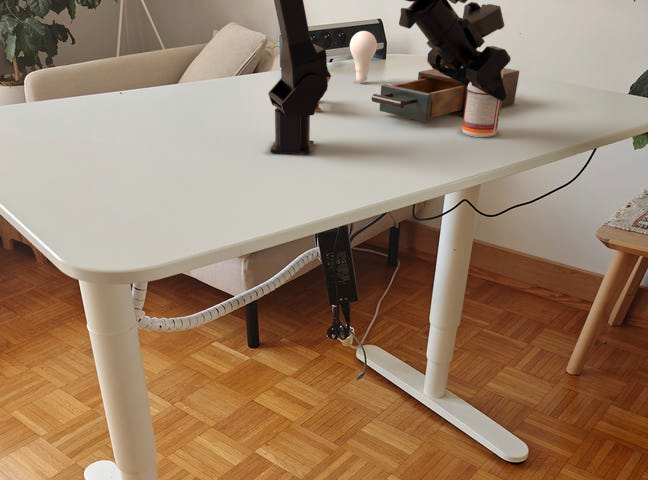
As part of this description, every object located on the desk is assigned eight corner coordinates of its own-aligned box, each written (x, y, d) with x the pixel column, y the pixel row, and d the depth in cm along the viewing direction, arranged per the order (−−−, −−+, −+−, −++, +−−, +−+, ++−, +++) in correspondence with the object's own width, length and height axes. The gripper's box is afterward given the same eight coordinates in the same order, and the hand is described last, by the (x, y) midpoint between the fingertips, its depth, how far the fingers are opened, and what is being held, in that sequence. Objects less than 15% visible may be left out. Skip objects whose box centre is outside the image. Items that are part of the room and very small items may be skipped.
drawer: (407, 126, 123) (410, 98, 120) (361, 115, 130) (363, 88, 127) (475, 109, 134) (479, 83, 132) (429, 99, 141) (432, 74, 139)
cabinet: (465, 117, 132) (470, 81, 129) (415, 106, 140) (418, 71, 136) (514, 104, 142) (519, 70, 138) (464, 94, 149) (468, 61, 146)
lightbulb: (375, 86, 156) (378, 33, 150) (348, 85, 156) (350, 32, 150) (373, 80, 161) (376, 29, 155) (347, 80, 161) (349, 28, 155)
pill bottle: (476, 127, 126) (485, 61, 120) (503, 134, 122) (514, 66, 116) (454, 132, 123) (462, 65, 117) (481, 139, 119) (492, 70, 113)
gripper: (510, -9, 101) (558, 67, 110) (451, -19, 116) (497, 48, 125) (455, 51, 104) (507, 120, 113) (404, 33, 119) (453, 96, 127)
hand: (491, 94), depth 119 cm, fingers open, 8 cm apart
